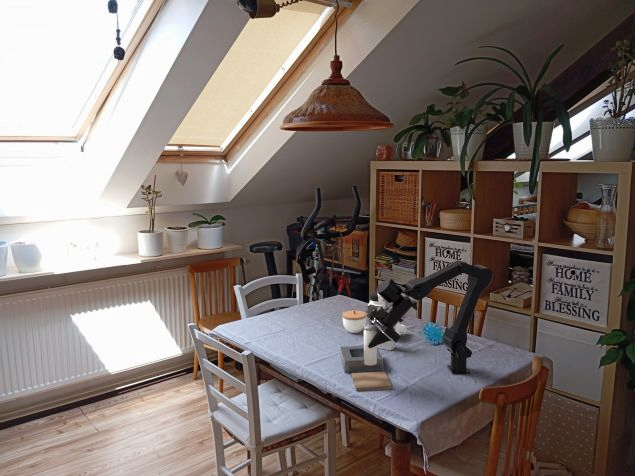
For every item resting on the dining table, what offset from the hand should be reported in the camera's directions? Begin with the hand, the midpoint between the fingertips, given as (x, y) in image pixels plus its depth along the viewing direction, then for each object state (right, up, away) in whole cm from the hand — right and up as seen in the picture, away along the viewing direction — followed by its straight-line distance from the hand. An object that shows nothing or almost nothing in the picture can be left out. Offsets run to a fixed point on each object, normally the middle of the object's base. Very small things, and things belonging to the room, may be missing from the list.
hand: (366, 345), depth 184 cm
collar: (0, -11, +18) cm, 21 cm away
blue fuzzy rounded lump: (+32, -7, +39) cm, 51 cm away
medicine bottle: (+11, -1, +72) cm, 73 cm away
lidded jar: (0, -5, +54) cm, 55 cm away
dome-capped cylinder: (+1, -6, +1) cm, 7 cm away
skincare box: (+11, -8, +33) cm, 36 cm away
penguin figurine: (+16, -6, +46) cm, 49 cm away
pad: (+2, -13, +2) cm, 14 cm away
